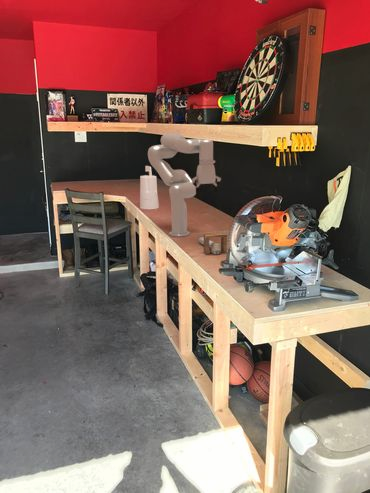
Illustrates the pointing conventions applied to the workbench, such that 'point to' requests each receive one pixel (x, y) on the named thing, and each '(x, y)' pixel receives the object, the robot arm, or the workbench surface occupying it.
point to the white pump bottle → (148, 191)
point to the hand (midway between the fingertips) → (206, 193)
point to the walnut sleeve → (214, 235)
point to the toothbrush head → (211, 245)
